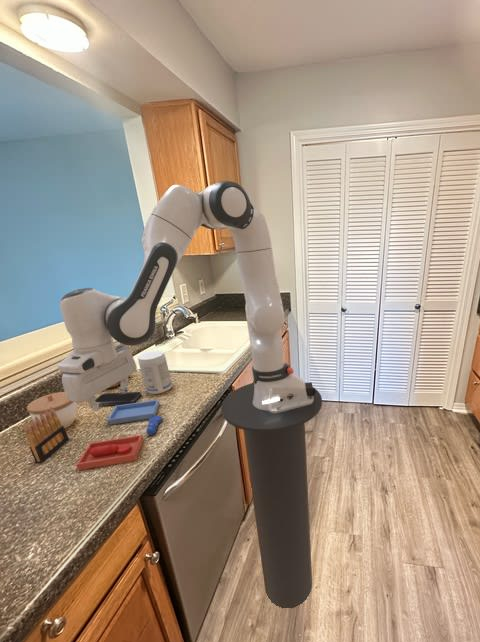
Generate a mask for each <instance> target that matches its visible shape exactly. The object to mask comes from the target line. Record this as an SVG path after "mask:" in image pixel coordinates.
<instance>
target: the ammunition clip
mask: <svg viewBox="0 0 480 642" xmlns="http://www.w3.org/2000/svg"><path fill="white" fill-rule="evenodd" d="M50 414H51V415H50ZM50 414H49V412H48V411H47V410H45V416H46V418H45V417H44V415H43V414H42V413H40V420H41V422H42V424H41V422H40V420H39V419H38V418H37V417H35V422H34V421H33V419H30V420H29V425H28V424H27V423H24V424H23V428H24V432H25V436H26V439H27V442H28V443H29V450H30V452H31V455H32V457H33V461H34V462H35V463H43V462H45V461H46V460H47V459H48V458H50V457H51V456H52V455H53V454H55V452H57V451H58V450H59V449H60V448H61V447H63V445H65V444H66V443H67V442H68V441H69V440H70V438H69V436H68V434H67V431H66V428H64V427H63V426H62V425H61V423H60V420H59V418H58V417H57V415H56V413H55V411H54V409H53V408H52V407H50ZM46 419H47V420H46Z"/></svg>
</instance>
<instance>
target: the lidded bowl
mask: <svg viewBox="0 0 480 642" xmlns="http://www.w3.org/2000/svg"><path fill="white" fill-rule="evenodd" d="M50 407H52V408H53V409H54V411H55V413H56V415H57V417H58V418H59V420H60V423H61V425H62V426H63V427H64V429H66V428H68V427H70V426H72V425H73V424H74V421H75V420H76V418H77V417H78V413H79V407H78V403H77V402H72V401H70V400H68V398H67V396H66V393H65V391H58V392H53V393H49V394H46V395H43V396H40V397H39V398H36V399H34V400H32V401H31V402H29V403H28V404H27V406H26V410H27V412H28V413H29V415H30V418H31V420H32V421H33V422H34V423H35V417H37V418H38V419H39V420H40V413H42V414H43V415H44V417H45V418H46V416H45V410H47V411H48V412H49V414H50ZM50 415H51V414H50ZM46 420H47V419H46ZM40 422H41V420H40ZM41 424H42V422H41Z"/></svg>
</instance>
